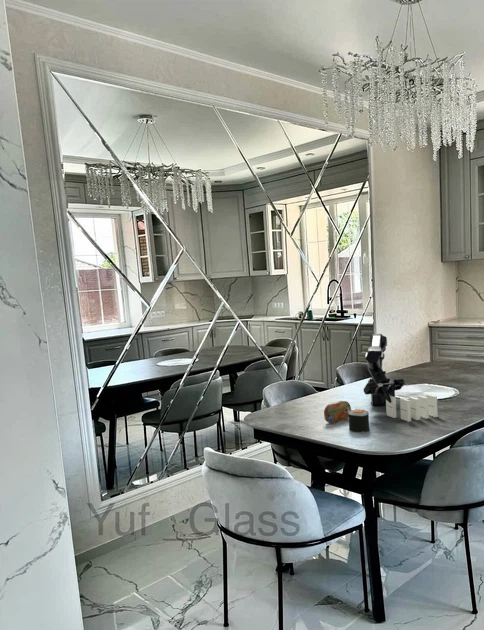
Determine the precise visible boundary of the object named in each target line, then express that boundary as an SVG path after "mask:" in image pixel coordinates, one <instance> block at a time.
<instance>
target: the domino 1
mask: <svg viewBox="0 0 484 630" xmlns="http://www.w3.org/2000/svg"><path fill="white" fill-rule="evenodd" d="M389 396H390V395H389ZM390 398H391V403H389V402H388V401H387V400H386V406H385V407H386V408H385V409H386V411H385V412H386V416H387V417H390V418H393V419H395V418H397V400H396V399H397V398H396V396H395V397H393V396H390Z"/></svg>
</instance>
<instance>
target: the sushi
mask: <svg viewBox="0 0 484 630" xmlns="http://www.w3.org/2000/svg"><path fill="white" fill-rule="evenodd" d="M348 415H349V418H348V429H349V431H350V432H355V433H367V432H369V431H370V421H369V420H370V419H369V415H370V413H369V411H368V410H366V409H360V408H359V409H357V408H356V409H351V411H348Z"/></svg>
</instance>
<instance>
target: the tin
mask: <svg viewBox="0 0 484 630" xmlns="http://www.w3.org/2000/svg"><path fill="white" fill-rule="evenodd" d="M351 410H352V406H351V404H350V403H349V402H348V401H347V400H344V401H343V400H340V401H337V402H333V403H329V404H327V405H326V406H325V408H324V410H323V417H324V420H325V421H326V422H327V423H329V424H332V425H334V424H335V425H336V424H338V423H341V422H344V421H347V420H349V415H348V411H351Z"/></svg>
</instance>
